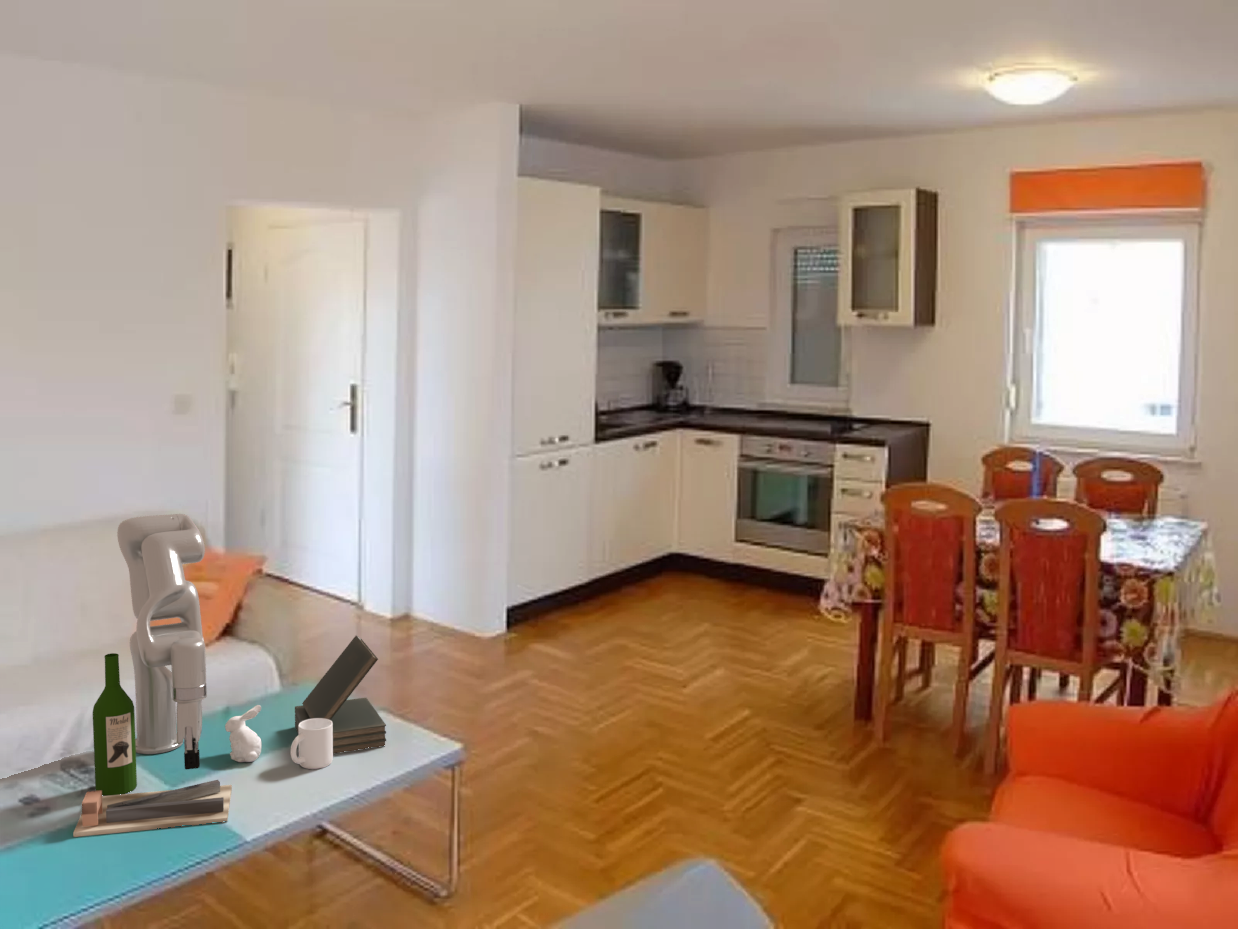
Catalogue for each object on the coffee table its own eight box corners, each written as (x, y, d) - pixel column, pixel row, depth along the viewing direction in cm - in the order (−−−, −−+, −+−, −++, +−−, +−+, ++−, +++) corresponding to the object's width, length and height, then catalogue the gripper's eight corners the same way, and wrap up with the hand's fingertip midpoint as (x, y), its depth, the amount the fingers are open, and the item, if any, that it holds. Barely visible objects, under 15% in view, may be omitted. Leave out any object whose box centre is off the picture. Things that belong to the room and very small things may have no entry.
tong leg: (109, 818, 242) (109, 807, 241) (107, 815, 243) (107, 805, 242) (220, 791, 256) (219, 782, 256) (217, 789, 257) (217, 779, 257)
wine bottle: (105, 800, 253) (100, 663, 249) (89, 788, 259) (83, 654, 255) (143, 789, 260) (139, 655, 256) (127, 777, 266) (122, 646, 262)
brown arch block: (87, 814, 243) (86, 791, 243) (102, 812, 244) (101, 790, 243) (82, 826, 237) (81, 803, 237) (97, 825, 238) (96, 802, 237)
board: (88, 801, 252) (88, 786, 252) (231, 788, 261) (231, 773, 261) (73, 837, 235) (72, 820, 235) (227, 822, 244) (226, 806, 243)
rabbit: (222, 753, 282) (221, 708, 280) (258, 745, 288) (257, 700, 286) (239, 768, 273) (238, 722, 271) (276, 760, 279) (275, 714, 277)
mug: (302, 777, 268) (302, 736, 267) (279, 769, 273) (279, 729, 272) (339, 761, 278) (339, 722, 277) (317, 754, 283) (316, 715, 281)
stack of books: (295, 728, 301) (293, 639, 298) (366, 718, 309) (366, 632, 306) (309, 758, 281) (308, 663, 277) (386, 747, 289) (385, 655, 286)
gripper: (175, 683, 263) (178, 757, 265) (168, 703, 249) (171, 781, 251) (209, 681, 265) (211, 754, 267) (204, 700, 251) (206, 777, 253)
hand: (192, 767), depth 259 cm, fingers closed
